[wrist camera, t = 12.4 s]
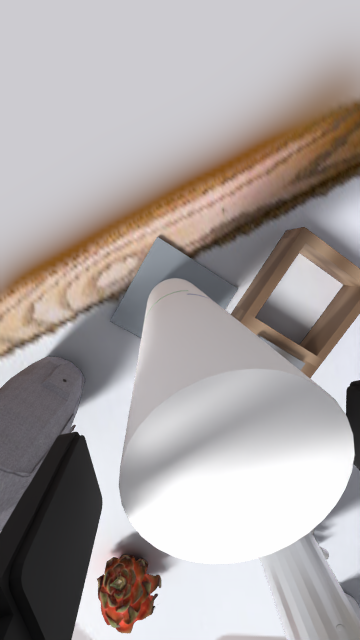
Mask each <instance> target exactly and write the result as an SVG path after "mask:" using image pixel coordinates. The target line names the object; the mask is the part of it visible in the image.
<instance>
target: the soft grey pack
mask: <svg viewBox="0 0 360 640" xmlns="http://www.w3.org/2000/svg"><path fill="white" fill-rule="evenodd" d="M84 383H85V378H84V376H83V374H82V372H81V370H80V369H78V368H77V367H76V366H75V365H74V364H73V363H72V362H70V361H67V360H65V359H62V358H60V357H45V358H43V359H41V360H39V361H37V362H35V363H33V364H31V365H30V366H28V367H27V368H25V369H24V370H22V371H21V372H19V373H18V374H17V375H15V376H14V377H12V378H11V379H10V380H9V381H8V382H6V383H5V384H4V385H3V386H2V387H1V388H0V531H1V530H2V529H3V527H4V526H5V524H6V522H7V520H8V519H9V517H10V515H11V514H12V512H13V510H14V509H15V507H16V505H17V503H18V502H19V500H20V498H21V497H22V495H23V493H24V492H25V490H26V489H27V488H28V486H29V484H30V482H31V481H32V479H33V477H34V476H35V474H36V472H37V470H38V469H39V467H40V465H41V464H42V462H43V460H44V458H45V457H46V455H47V453H48V452H49V450H50V448H51V446H52V445H53V443H54V441H55V440H56V438H57V437H58V435H61V434H66V433H71V432H72V431H73V430H74V428H75V426H76V425H73V426H72V427H71V425H72V423H73V420H74V418H75V415H76V413H77V410H78V406H79V402H80V398H81V394H82V390H83V386H84Z"/></svg>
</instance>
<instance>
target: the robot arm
mask: <svg viewBox="0 0 360 640" xmlns="http://www.w3.org/2000/svg"><path fill="white" fill-rule="evenodd" d="M346 416H347V418H348V421H349V424H350V427H351V430H352V433H353V438H354V452H355V455H354V461H353V464H354V465H355V466H356V467H357V468H358V469H359V470H360V380H358V381H353V382H351V384H350V386H349V387H348V388H347V394H346ZM101 510H102V495H101V492H100V488H99V485H98V481H97V478H96V475H95V471H94V468H93V464H92V461H91V457H90V454H89V450H88V447H87V443H86V440H85V437H84V436H83V435H81V436H80V435H79V433H78V432H72V433H66V434H61V435H58V437H57V438H56V440H55V441H54V443H53V445H52V446H51V448H50V450H49V452H48V453H47V455H46V457H45V458H44V460H43V462H42V464H41V465H40V467H39V469H38V470H37V472H36V474H35V476H34V477H33V479H32V481H31V482H30V484H29V486H28V488H27V489H26V490H25V492H24V493H23V495H22V497H21V498H20V500H19V502H18V503H17V505H16V507H15V509H14V510H13V512H12V514H11V515H10V517H9V519H8V520H7V522H6V524H5V526H4V527H3V529H2V531H1V532H0V640H71V638H72V634H73V630H74V626H75V622H76V617H77V613H78V609H79V605H80V600H81V596H82V592H83V588H84V583H85V579H86V575H87V570H88V566H89V562H90V558H91V553H92V549H93V545H94V540H95V536H96V532H97V528H98V523H99V519H100V515H101ZM314 529H315V528H314ZM314 529H312V530H311V531H310V532H309V533H308V534H306V535H305V536H303V537H302V538H300V539H299V540H297V541H296V542H294V543H292V544H291V545H289V546H287V547H285V548H283V549H280V550H278V551H276V552H274V553H272V554H269V555H266V556H263V557H260V561H261V564H262V567H263V570H264V573H265V576H266V579H267V582H268V585H269V588H270V591H271V594H272V597H273V600H274V603H275V606H276V609H277V612H278V615H279V618H280V621H281V624H282V627H283V630H284V633H285V636H286V639H287V640H360V620H359V618H358V617H357V615H356V613H355V611H354V609H353V607H352V606H351V604H350V602H349V600H348V598H347V597H346V595H345V593H344V591H343V589H342V588H341V586H340V584H339V582H338V580H337V579H336V577H335V575H334V573H333V571H332V570H331V568H330V566H329V564H328V562H327V561H326V559H328V557H329V554H328V551H327V550H326V549H324V548H321V547H319V545H318V543H317V541H316V540H315V538H314V536H313V534H314Z"/></svg>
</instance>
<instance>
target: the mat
mask: <svg viewBox="0 0 360 640" xmlns="http://www.w3.org/2000/svg"><path fill="white" fill-rule="evenodd" d="M171 278H179V279H184V280H187V281H188V282H190V283H192V284H193V285H194V286H196V287H197V288H198V289H199V290H201V291H202V292H203V293H204V294H206V295H207V296H208V297H209V298H210V299H212V300H213V301H214V302H215V303H217V304H218V305H219V306H220V307H222V308H223V309H224V310H225V308H226V307H227V305H228V304H229V302H230V301H231V299H232V298H233V296H234V295H235V293H236V292H237V290H238V288H236V287H235V286H233V285H232V284H230V283H229V282H227V281H226V280H224V279H222V278H221V277H219V276H218V275H216V274H215V273H213V272H211V271H210V270H208V269H207V268H205V267H204V266H202V265H201V264H199V263H197V262H196V261H194V260H193V259H191V258H190V257H188V256H187V255H185V254H183V253H182V252H180V251H179V250H177V249H176V248H174V247H172V246H171V245H169V244H168V243H166V242H165V241H163V240H162V239H160V238H158V237H157V239H156V240H155V242H154V244H153V246H152V247H151V249H150V251H149V253H148V254H147V256H146V258H145V260H144V262H143V263H142V265H141V267H140V269H139V270H138V272H137V274H136V276H135V277H134V279H133V281H132V283H131V285H130V286H129V288H128V290H127V292H126V293H125V295H124V297H123V299H122V300H121V302H120V304H119V306H118V308H117V309H116V311H115V313H114V315H113V316H112V318H111V320H110V322H112V323H114V324H116V325H118V326H120V327H121V328H123V329H125V330H127V331H129V332H131V333H133V334H134V335H136V336H138V337H140V338H142V332H143V325H144V319H145V313H146V307H147V301H148V297H149V295H150V293H151V291H152V290H153V288H154V287H155V286H156V285H158V284H159V283H160V282H162V281H164V280H167V279H171Z"/></svg>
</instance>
